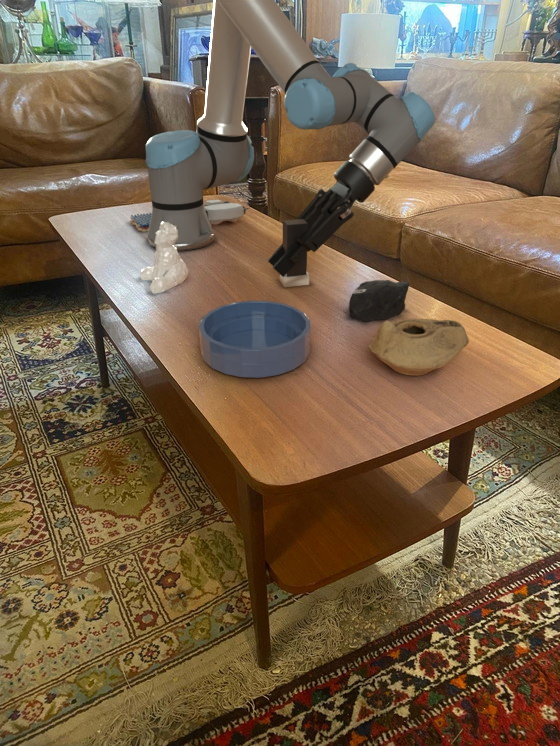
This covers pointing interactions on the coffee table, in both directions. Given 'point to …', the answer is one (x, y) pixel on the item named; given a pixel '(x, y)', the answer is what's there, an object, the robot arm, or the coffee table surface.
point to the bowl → (254, 338)
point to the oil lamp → (418, 344)
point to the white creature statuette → (165, 261)
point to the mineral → (378, 299)
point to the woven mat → (141, 221)
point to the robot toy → (223, 211)
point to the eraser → (299, 270)
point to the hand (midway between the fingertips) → (275, 268)
